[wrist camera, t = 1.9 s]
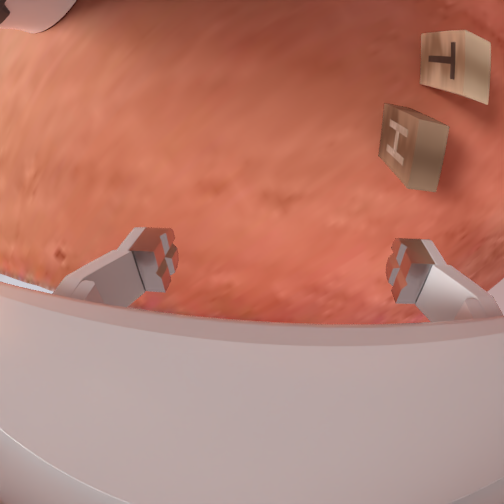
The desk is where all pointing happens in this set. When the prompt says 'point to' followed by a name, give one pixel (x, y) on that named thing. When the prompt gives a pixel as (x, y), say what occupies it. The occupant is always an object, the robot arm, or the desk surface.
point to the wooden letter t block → (456, 63)
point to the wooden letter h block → (413, 146)
